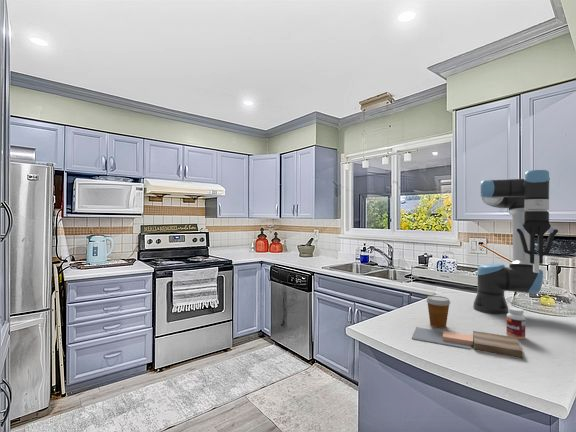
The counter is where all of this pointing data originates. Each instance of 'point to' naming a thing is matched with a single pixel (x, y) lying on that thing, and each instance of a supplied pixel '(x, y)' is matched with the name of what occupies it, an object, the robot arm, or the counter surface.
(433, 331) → the mat
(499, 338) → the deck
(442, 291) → the counter surface
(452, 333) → the card
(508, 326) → the pill bottle
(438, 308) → the disposable coffee cup
